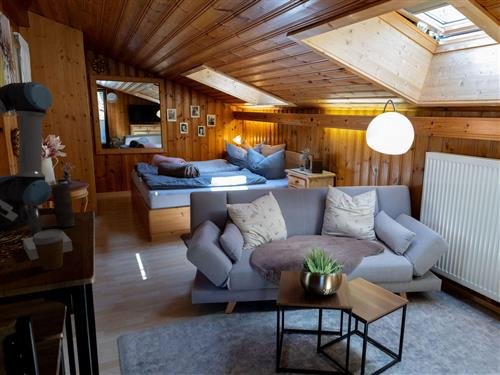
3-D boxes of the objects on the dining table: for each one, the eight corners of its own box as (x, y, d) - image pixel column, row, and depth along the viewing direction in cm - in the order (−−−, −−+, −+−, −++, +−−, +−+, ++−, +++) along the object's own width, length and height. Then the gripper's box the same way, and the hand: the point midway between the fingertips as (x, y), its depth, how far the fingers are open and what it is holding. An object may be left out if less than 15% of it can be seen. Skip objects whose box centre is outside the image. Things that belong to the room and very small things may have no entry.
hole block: (24, 248, 139) (22, 239, 138) (63, 240, 148) (62, 230, 147) (30, 260, 129) (29, 249, 128) (72, 250, 137) (71, 240, 137)
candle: (67, 229, 160) (61, 186, 156) (52, 228, 162) (47, 185, 157) (78, 224, 168) (73, 182, 163) (64, 223, 169) (59, 182, 164)
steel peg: (31, 238, 150) (26, 208, 147) (41, 236, 152) (37, 206, 150) (32, 241, 147) (28, 210, 144) (43, 238, 149) (39, 208, 147)
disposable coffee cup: (44, 261, 128) (40, 229, 125) (72, 260, 129) (68, 228, 126) (30, 273, 119) (25, 239, 116) (60, 272, 119) (56, 238, 117)
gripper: (-51, 184, 138) (2, 214, 150) (-51, 196, 119) (10, 230, 132) (-36, 169, 140) (15, 200, 153) (-33, 179, 121) (24, 213, 134)
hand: (13, 214), depth 142 cm, fingers open, 13 cm apart
